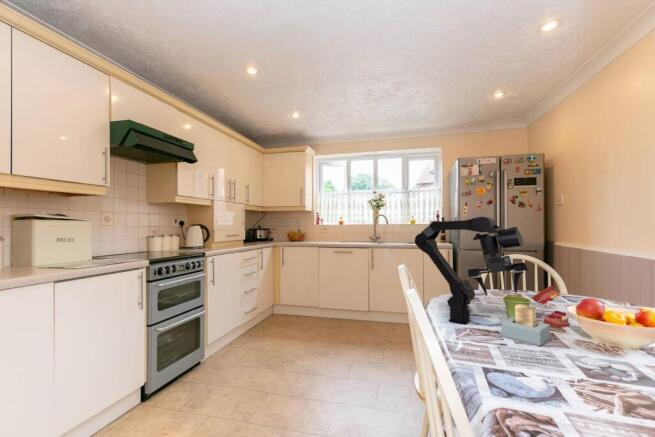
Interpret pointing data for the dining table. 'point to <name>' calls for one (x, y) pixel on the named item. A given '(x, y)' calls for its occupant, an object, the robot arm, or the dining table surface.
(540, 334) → the block
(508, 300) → the plant pot
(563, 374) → the dining table surface
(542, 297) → the anatomical model
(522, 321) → the upright wooden block
